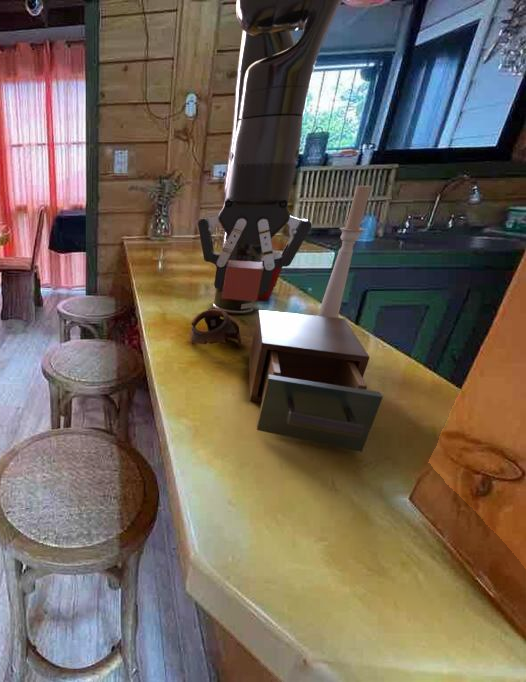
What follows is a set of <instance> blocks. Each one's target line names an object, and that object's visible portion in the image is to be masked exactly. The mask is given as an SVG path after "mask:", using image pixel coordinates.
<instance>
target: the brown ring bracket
mask: <svg viewBox="0 0 526 682" xmlns="http://www.w3.org/2000/svg"><path fill="white" fill-rule="evenodd" d="M202 320H204V323H205V324H206V328H207V331H204V330H199V329H197V328H196V327H197V325H198V324H199V322H201V321H202ZM190 324H191V326H192V327H191V330H190V334H189V337H190V342H191V344H192V345H193V344H201V345H207V344H215V343H218V342H220V343H222V344H226V338H230V339H233V340H235V341H236V342H237V343H238V347H239V348H241V347H242V335H241V332H240V325H239V323H238V322H237V320H236V319H235V318H234V317H232V316H231V315H229V313H226V312H225V311H223V310H220V309H216V308H215V307H213V306H211V307H209V308H208V309H206V310H204V311H202V312H199V313H198V314H197V315H196V316H195V317H194V318H193V319H192V320H191V323H190Z"/></svg>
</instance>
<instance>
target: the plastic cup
mask: <svg viewBox="0 0 526 682" xmlns="http://www.w3.org/2000/svg"><path fill="white" fill-rule="evenodd" d="M282 252H283V251H282V250H273V257H277V256H281V254H282ZM262 266H263V267H264V260H263V257H262ZM282 269H283V267H279V268H276V269H275V270H274V271H273V275H272V280H271V285H270V290H269V291H268V293H263V297H262V296H258V298H257V301H268V300H269V299H270V298H271V296H272V294H273V291H274V289H275V287H276V284H277V281H278V279H279V277H280V275H281V272H282Z"/></svg>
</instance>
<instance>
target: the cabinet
mask: <svg viewBox="0 0 526 682" xmlns="http://www.w3.org/2000/svg"><path fill="white" fill-rule="evenodd" d="M268 349H269V350H276V351H284V352H291V353H299V354H306V355H313V356H321V357H328V358H336V359H343V360H351V361H353V362H354V364H355V365H356V367H357V369H358V371H359V373H360V374H361V376H362V378H363V379H364V375H365V372H366V370H367V366H368V364H369V360H370V355H369V353H368V352H367V350H366V349H365V347H364V346H363V345H362V343H361V341H360V340H359V338H358V337H357V335H356V334H355V332H354V331H353V329H352V328H351V326H350V325H349V323H348V322H347V320H346V319H345V318H344V317H343V318H342V317H338V318H333V317H323V316H318V315H312V314H302V313H294V312H283V311H272V310H263V309H258V310H257V317H256V322H255V327H254V331H253V338H252V342H251V347H250V352H249V358H248V369H249V370H248V373H249V401H251V402H256V403H261V404H262V393H261V378H262V373H263V369H264V364H265V359H266V355H267V350H268Z"/></svg>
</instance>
